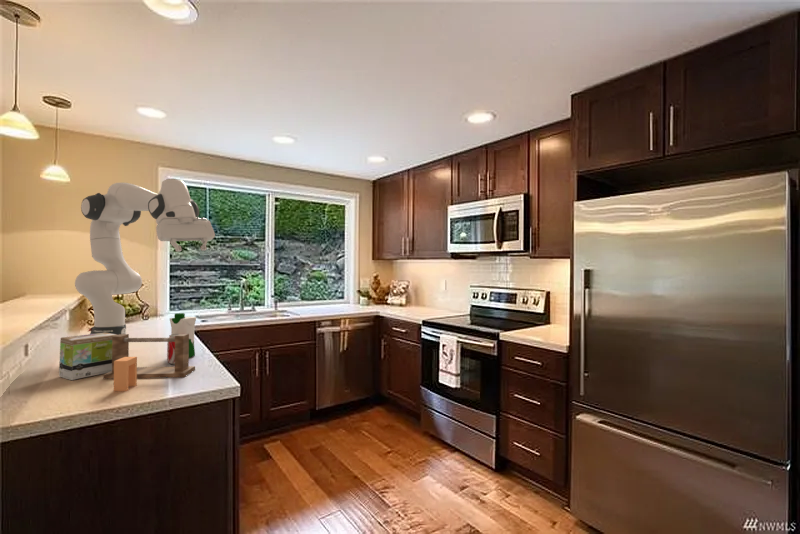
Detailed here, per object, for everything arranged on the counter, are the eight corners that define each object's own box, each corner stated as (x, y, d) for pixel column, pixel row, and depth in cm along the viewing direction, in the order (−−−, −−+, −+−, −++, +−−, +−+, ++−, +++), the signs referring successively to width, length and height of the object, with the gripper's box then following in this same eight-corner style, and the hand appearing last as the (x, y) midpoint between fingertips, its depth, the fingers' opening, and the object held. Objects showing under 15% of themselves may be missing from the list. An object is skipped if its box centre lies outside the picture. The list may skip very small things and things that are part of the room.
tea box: (72, 381, 139) (72, 340, 139) (58, 377, 143) (58, 337, 143) (118, 371, 152) (118, 333, 152) (104, 367, 157) (105, 331, 157)
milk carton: (166, 358, 173) (167, 313, 173) (183, 354, 182) (183, 311, 182) (182, 360, 171) (183, 314, 171) (198, 355, 179) (199, 312, 179)
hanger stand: (103, 378, 142) (103, 337, 142) (119, 371, 152) (120, 333, 152) (184, 377, 145) (184, 337, 145) (195, 369, 155) (195, 332, 155)
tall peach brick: (113, 391, 128) (113, 361, 128) (124, 385, 134) (124, 356, 134) (126, 390, 129) (126, 360, 129) (136, 385, 135) (136, 356, 135)
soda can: (177, 365, 161) (177, 336, 161) (163, 364, 163) (163, 336, 163) (190, 361, 168) (190, 333, 168) (176, 360, 170) (176, 333, 170)
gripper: (205, 221, 160) (214, 252, 158) (151, 220, 143) (160, 254, 141) (212, 215, 156) (221, 246, 154) (157, 212, 140) (167, 248, 137)
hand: (191, 250), depth 147 cm, fingers open, 8 cm apart
